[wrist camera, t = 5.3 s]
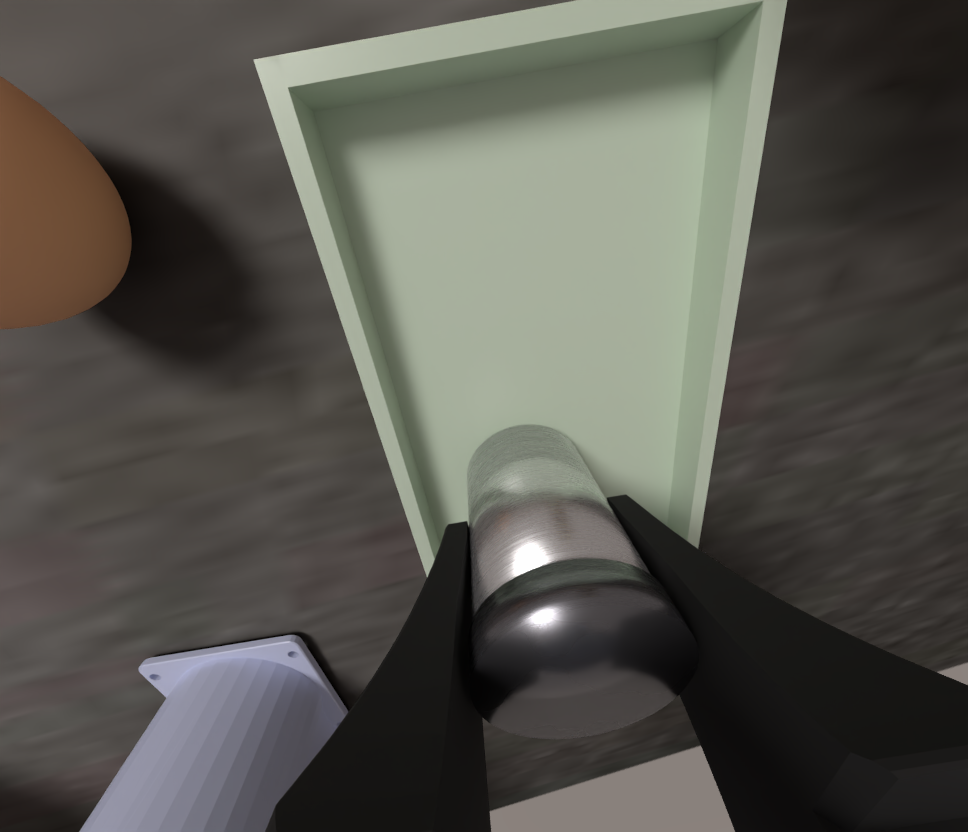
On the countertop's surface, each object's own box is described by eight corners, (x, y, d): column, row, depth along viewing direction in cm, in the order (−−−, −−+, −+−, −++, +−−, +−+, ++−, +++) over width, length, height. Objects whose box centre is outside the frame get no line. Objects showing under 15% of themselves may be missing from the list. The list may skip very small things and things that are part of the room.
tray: (673, 530, 16) (696, 559, 14) (438, 569, 16) (435, 602, 14) (732, 13, 8) (793, -40, 7) (290, 94, 9) (253, 59, 7)
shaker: (587, 509, 14) (691, 716, 8) (478, 531, 14) (493, 753, 8) (578, 410, 12) (709, 582, 6) (451, 437, 12) (444, 634, 6)
